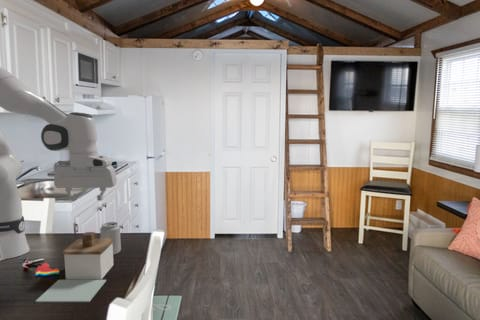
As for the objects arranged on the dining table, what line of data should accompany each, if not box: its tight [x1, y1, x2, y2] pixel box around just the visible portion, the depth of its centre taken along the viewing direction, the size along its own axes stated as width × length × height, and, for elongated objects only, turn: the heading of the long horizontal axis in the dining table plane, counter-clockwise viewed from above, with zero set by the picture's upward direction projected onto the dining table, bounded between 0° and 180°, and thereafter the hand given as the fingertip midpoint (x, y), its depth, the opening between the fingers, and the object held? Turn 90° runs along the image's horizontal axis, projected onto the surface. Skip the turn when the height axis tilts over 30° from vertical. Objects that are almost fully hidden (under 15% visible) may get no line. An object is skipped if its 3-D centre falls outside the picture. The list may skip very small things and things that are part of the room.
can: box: [99, 221, 122, 256], centre depth 147 cm, size 8×8×12 cm
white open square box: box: [63, 244, 114, 280], centre depth 129 cm, size 12×12×9 cm
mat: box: [34, 279, 107, 303], centre depth 116 cm, size 16×14×1 cm
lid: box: [61, 231, 114, 256], centre depth 128 cm, size 13×13×5 cm
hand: (86, 200), depth 127 cm, fingers open, 8 cm apart
